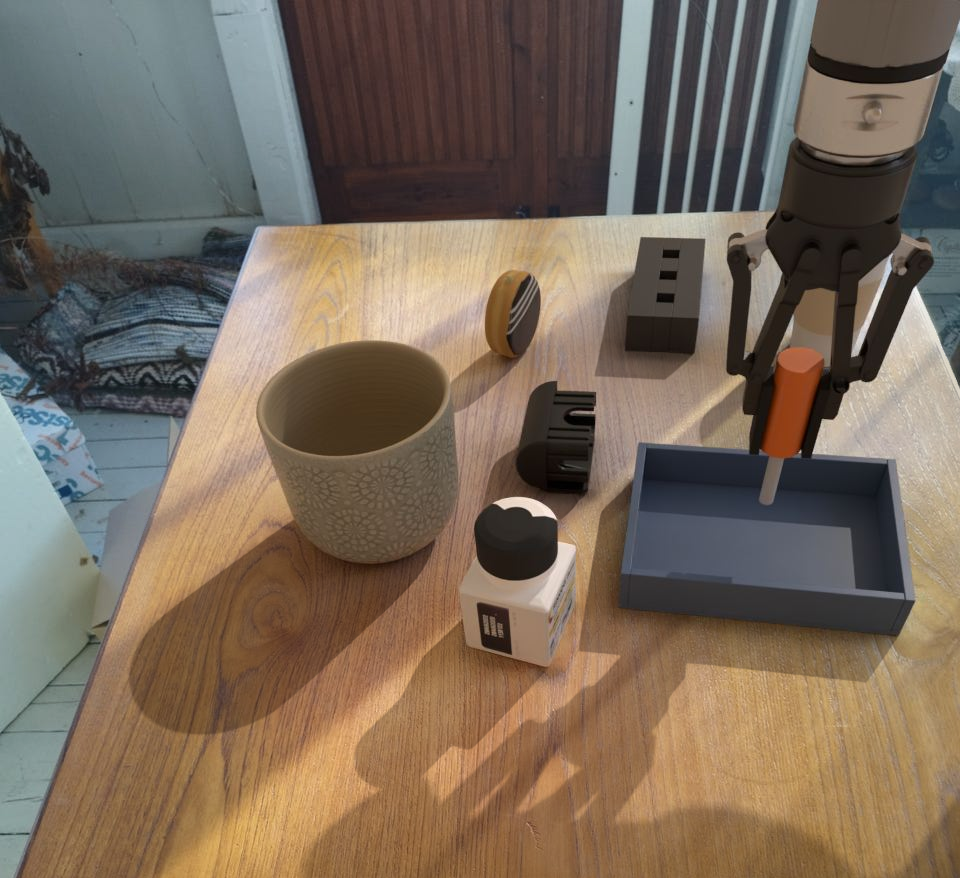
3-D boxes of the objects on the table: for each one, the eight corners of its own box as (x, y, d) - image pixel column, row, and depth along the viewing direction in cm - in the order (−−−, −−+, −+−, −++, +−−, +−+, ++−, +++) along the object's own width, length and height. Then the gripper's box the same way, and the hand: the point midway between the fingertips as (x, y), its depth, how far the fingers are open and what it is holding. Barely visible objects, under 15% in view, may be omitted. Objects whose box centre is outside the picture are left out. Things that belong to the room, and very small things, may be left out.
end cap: (529, 432, 94) (527, 378, 89) (595, 434, 93) (597, 380, 88) (516, 494, 88) (513, 441, 83) (587, 498, 87) (588, 444, 82)
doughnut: (511, 375, 101) (506, 294, 93) (483, 368, 102) (476, 288, 94) (545, 332, 106) (543, 252, 98) (517, 326, 107) (513, 247, 99)
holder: (701, 272, 111) (705, 238, 108) (694, 353, 101) (699, 318, 97) (638, 270, 113) (640, 236, 109) (624, 350, 102) (627, 315, 99)
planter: (499, 502, 87) (489, 371, 75) (397, 613, 79) (367, 484, 67) (369, 449, 94) (341, 321, 82) (262, 546, 86) (214, 419, 74)
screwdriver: (785, 489, 77) (823, 348, 66) (786, 515, 75) (825, 374, 64) (746, 486, 77) (777, 345, 66) (745, 512, 75) (777, 372, 64)
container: (548, 669, 74) (546, 564, 64) (465, 647, 76) (450, 542, 66) (576, 604, 78) (578, 495, 68) (496, 584, 80) (486, 477, 70)
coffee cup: (775, 367, 98) (804, 236, 86) (783, 323, 103) (811, 194, 91) (860, 376, 96) (902, 243, 84) (863, 331, 101) (903, 200, 89)
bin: (882, 495, 84) (896, 458, 80) (899, 636, 73) (916, 601, 70) (635, 477, 88) (638, 442, 85) (618, 607, 78) (620, 573, 74)
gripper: (714, 165, 52) (674, 468, 71) (1011, 169, 49) (890, 484, 68) (718, 114, 57) (680, 411, 75) (991, 114, 54) (882, 423, 72)
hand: (779, 445), depth 71 cm, fingers closed on screwdriver, 3 cm apart
